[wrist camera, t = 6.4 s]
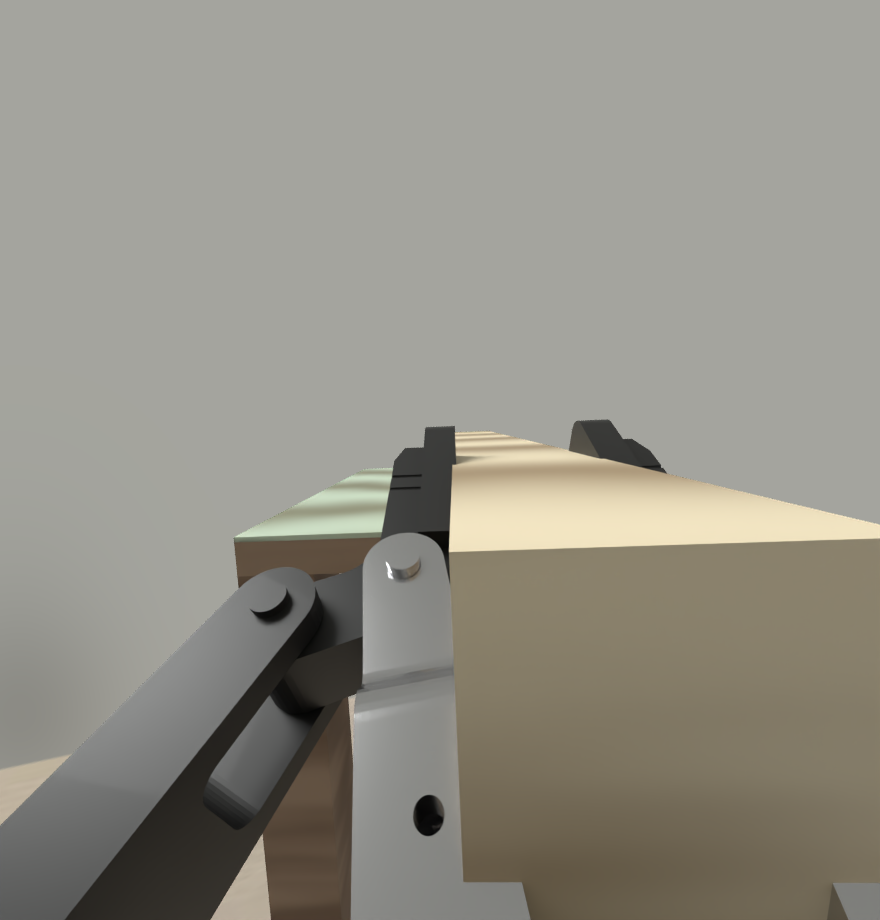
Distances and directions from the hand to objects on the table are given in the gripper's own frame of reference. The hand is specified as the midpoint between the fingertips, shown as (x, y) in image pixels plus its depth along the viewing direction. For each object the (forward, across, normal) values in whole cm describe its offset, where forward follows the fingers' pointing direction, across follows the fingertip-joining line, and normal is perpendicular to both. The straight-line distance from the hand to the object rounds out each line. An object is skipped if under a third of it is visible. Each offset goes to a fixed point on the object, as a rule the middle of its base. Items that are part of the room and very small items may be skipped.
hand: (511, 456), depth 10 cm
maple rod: (+6, 0, +7) cm, 9 cm away
